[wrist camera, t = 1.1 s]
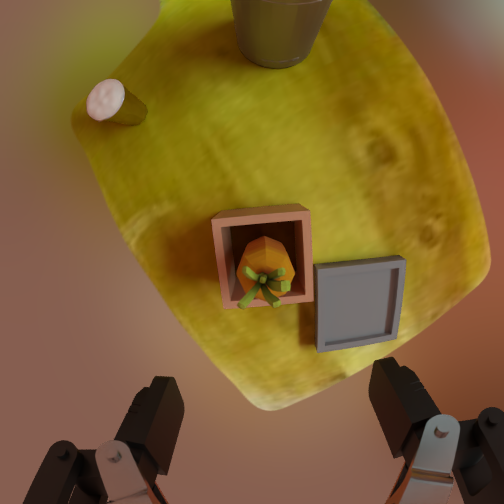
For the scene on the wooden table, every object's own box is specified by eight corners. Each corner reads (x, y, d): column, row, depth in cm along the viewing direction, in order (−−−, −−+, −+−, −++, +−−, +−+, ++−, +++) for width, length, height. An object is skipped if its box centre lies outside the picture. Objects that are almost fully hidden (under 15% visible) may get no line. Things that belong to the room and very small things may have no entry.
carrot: (243, 265, 33) (232, 329, 19) (242, 224, 32) (228, 263, 18) (284, 264, 33) (302, 328, 19) (284, 223, 32) (305, 262, 17)
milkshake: (126, 141, 30) (82, 132, 20) (118, 106, 28) (74, 88, 19) (158, 127, 29) (120, 110, 19) (148, 91, 28) (110, 65, 18)
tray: (314, 264, 33) (317, 269, 31) (399, 255, 33) (406, 259, 31) (314, 344, 36) (317, 352, 34) (391, 332, 36) (396, 339, 34)
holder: (221, 210, 32) (211, 219, 25) (299, 203, 31) (310, 210, 25) (230, 283, 34) (223, 308, 27) (303, 277, 34) (313, 301, 27)
